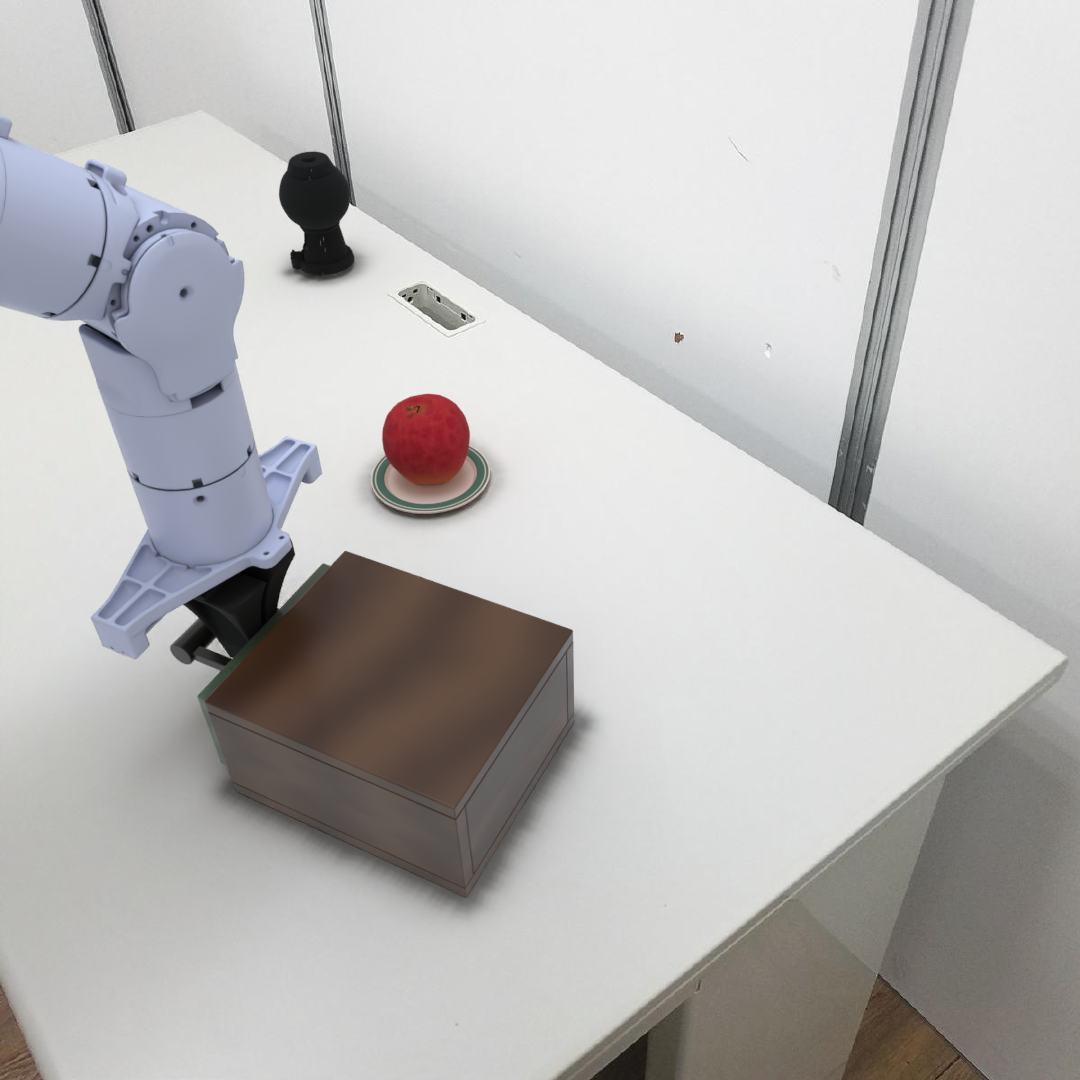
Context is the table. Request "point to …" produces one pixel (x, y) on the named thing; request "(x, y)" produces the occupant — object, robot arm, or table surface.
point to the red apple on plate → (428, 458)
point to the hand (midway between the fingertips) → (251, 652)
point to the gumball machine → (317, 212)
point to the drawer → (195, 648)
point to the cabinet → (398, 716)
